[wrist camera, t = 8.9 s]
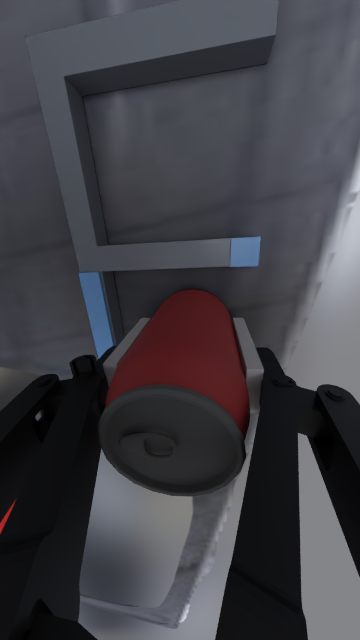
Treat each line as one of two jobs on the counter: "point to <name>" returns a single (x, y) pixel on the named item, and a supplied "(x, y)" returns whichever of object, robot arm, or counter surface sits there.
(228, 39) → the duct comb
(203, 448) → the beer can
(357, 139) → the counter surface
